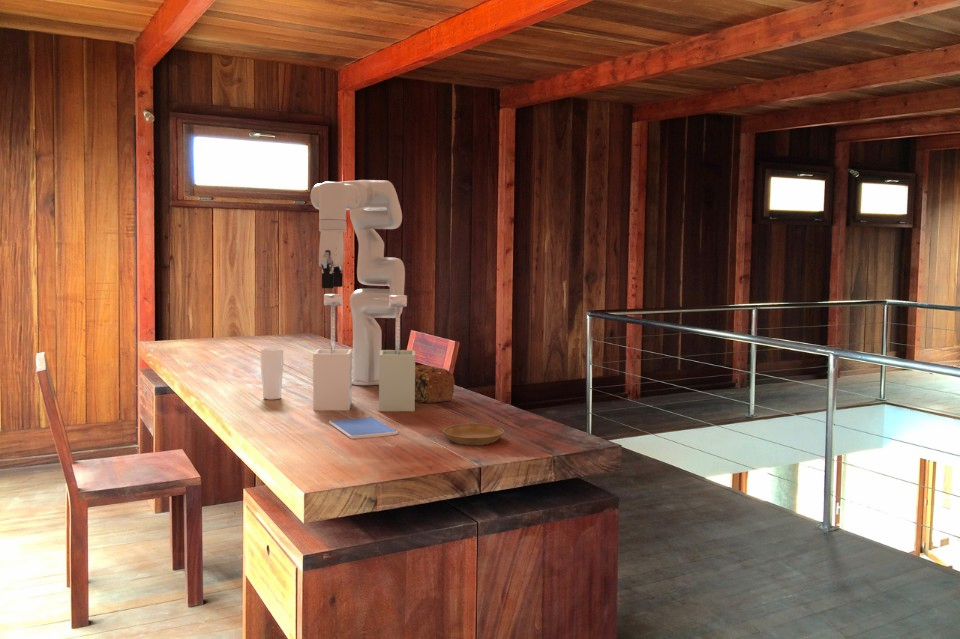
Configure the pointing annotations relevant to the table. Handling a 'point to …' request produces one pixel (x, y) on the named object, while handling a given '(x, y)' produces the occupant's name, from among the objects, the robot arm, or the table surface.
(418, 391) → the bread
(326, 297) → the plunger white
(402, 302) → the silver rod piece
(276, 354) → the drinking glass
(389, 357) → the press sage
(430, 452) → the table surface
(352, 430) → the tablet computer
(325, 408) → the press white
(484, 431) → the plant saucer
